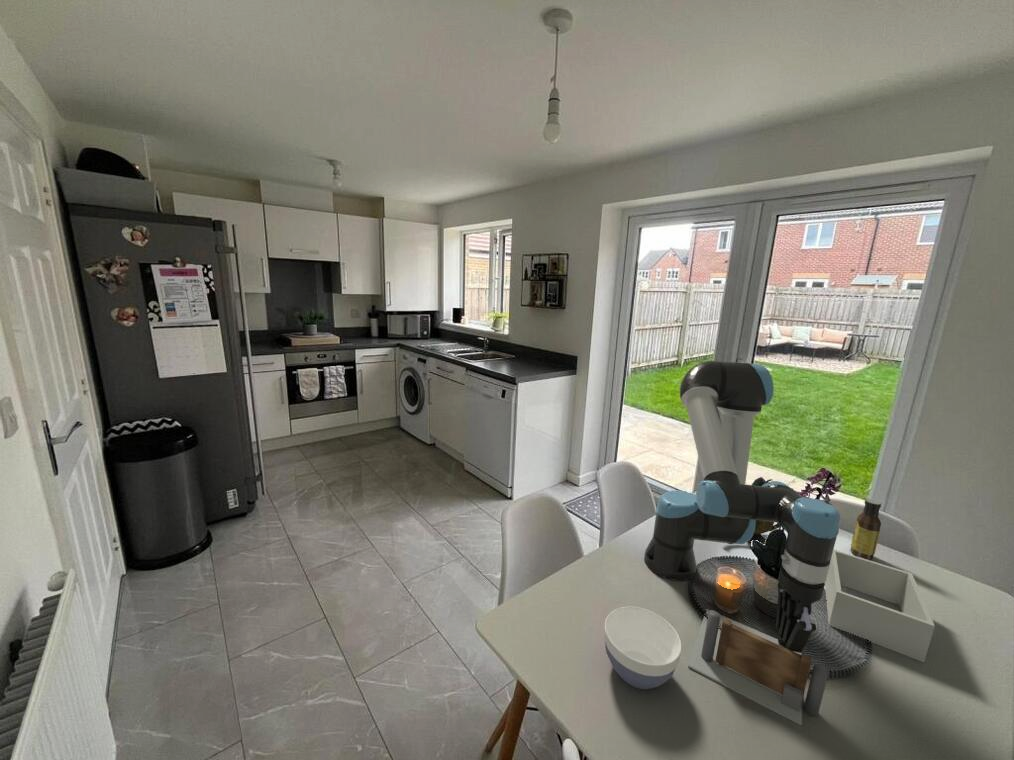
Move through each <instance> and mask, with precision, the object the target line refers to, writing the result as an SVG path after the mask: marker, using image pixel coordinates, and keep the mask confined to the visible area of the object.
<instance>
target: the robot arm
mask: <svg viewBox="0 0 1014 760" xmlns="http://www.w3.org/2000/svg"><path fill="white" fill-rule="evenodd" d="M774 391H775V390H774V380H773V377H772V374H771V372H770V371H769V370H768V368H767V367H765V366H764V365H762V364H756V363H749V362H730V361H729V362H728V361H718V360H717V361H716V360H707V361H702V362H699V363H697V364H695V365H694V366H693V367H691V368H689V370H688V371H687V372H686V374H685V375H684V376H683V378H682V380H681V383H680V387H679V397H680V401H681V404H682V406H683V407H684V408H685V409H687V415H688V419H689V423H690V427H691V432H692V436H693V440H694V445H695V450H696V453H697V457H698V461H699V466H700V469H701V474H702V478H703V480H701V481H700V482H698V484H697V486H696V493H693V492H688V491H685V490H676V489H675V490H669V491H666V492H664V493H662V494H661V495H660V496H659V498H658V501H657V504H656V508H655V519H654V528H653V533H652V537H651V540H650V541H649V543H648V545H647V547H646V548H645V551H644V558H643V560H644V563H645V564H646V566H647V567H648V568H649V570H651V571H652V572H653V573H655V574H657V575H658V576H660V577H663V578H665V579H668V580H672V581H689V580H691V579H693V578H694V577H695V576H694V575H696V573H697V562H696V555H695V551H694V542H695V540H696V541H706V542H712V543H713V542H715V543H722V544H728V545H744V544H746V543H748V541H749V540H750V539H751V538H752V536H753V534H754V530H755V524H756V521H755V520H761V521H770V522H774V523H776V524H777V523H778V524H779V525H780V526H781V527H780V528H782V529H783V530H784V531H785V532H786V533H787V535H786V536H787V537H786V541H785V547H784V553H783V554H781V556H780V558H781V560H782V561H781V566H780V570H779V574H778V577H777V582H778V583H777V607H776V616H775V617H776V619H775V628H776V630H778V633H777V635H778V638H777V639H778V645H780V646H782V647H784V648H787V649H789V650H791V651H793V652H798V653H801V652H802V653H803V650H804V648H805V646H806V644H807V642H808V640H809V639H810V636H811V635H812V633H814V632H816V631H817V625H816V624H815V623H813V622H812V621H811V619H810V615H811V614H812V604H814V603H815V602H819V601H820V600H821V599H822V598H823V595H824V594H823V593H824V589H825V581H826V578H827V574H828V570H829V566H830V560H831V557H832V553H833V549H834V548H835V545H836V541H837V538H838V535H839V533H840V532H839V530H840V528H839V526H840V519H841V514H840V512H839V511H838V509H837V508H836V507H834V506H833V505H832V504H828V503H826V501H823V500H821V499H816V498H813V497H803V496H801V494H799V493H798V492H797V491H796V490H795V489H794V488H793V487H790V486H789V485H787V484H786V483H784V482H782V481H779V480H778V481H777V480H772V481H769V482H768V483H765V484H763V485H762V486H752V484H751V485H750V484H746V482H747V474H748V468H749V467H748V465H749V459H750V451H751V443H752V435H753V430H754V429H753V428H754V421H755V417H756V416H757V415H758V414H761V413H762V407H763V406H766V405H769V404H770V403H771V400H772V399H773V397H774ZM834 550H835V549H834ZM693 576H694V577H693ZM692 577H693V578H692ZM690 578H691V579H690Z"/></svg>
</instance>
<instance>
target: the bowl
mask: <svg viewBox="0 0 1014 760" xmlns="http://www.w3.org/2000/svg"><path fill="white" fill-rule="evenodd" d="M603 635H604V644H605V645H604V647H605V652H606V655H607V658H608V660H609V661H610V664H611V666H612V668H613V669H614V670H615V672H616V673H617V674H618V675H619V676H620V678H621V679H622V680H623V681H624V682H625V683H626V684H628V685H629V686H632V687H634V688H636V689H640V690H650V689H655V688H657V687H660V686H662V685H663V684H666V682H667V681H669V680H670V679H671V678H672V677H673V675H674V673H675V670H676V668H677V667H678V664H679V662H680V658H681V653H682V647H683V646H682V642H681V638H680V636H679V633H678V632H677V631H676V629H675V628H674V627H673V625H672V624H670V622H668V621H667V619H665V618H664V617H662V616H660V615H659V614H658V613H656V612H653V611H651V610H649V609H645V608H642V607H638V606H622V607H618V608H616V609H613V610H611V612H610V613H609V614H608V615H607V617H606V618H605V621H604V634H603Z"/></svg>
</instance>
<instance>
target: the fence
mask: <svg viewBox="0 0 1014 760" xmlns="http://www.w3.org/2000/svg"><path fill="white" fill-rule="evenodd" d="M706 610H707V611H708V612H709V613H708V619H707V618H706V617H705V616H704V615H703V618H702V621H701V625H700V627H699V630H698V634H697V638H696V640H695V643H694V647H693V649H692V653H691V656H690V659H689V662H688V666H687V668H689V669H691V670H692V671H695V672H697V673H699V674H700V675H702V676H704V677H706V678H708V679H710V680H712V681H713V682H716V683H718V684H719V685H722V686H724V687H725V688H728V689H730V690H732V691H733V692H736V693H737V694H740V695H742V697H745V698H746V699H749V700H750V701H753V702H755V703H757V704H759V705H760V706H762V707H764V708H766V709H768V710H771V711H772V712H774V713H776V714H778V715H779V716H782V717H783V718H786V719H787V720H789V721H791V722H794V723H795V724H798V725H799V726H802V725H803V710H804V711H805V713H807V714H808V715H809V716H812V717H815V718H816V717H818V716H819V712H820V708H821V704H822V702H823V696H824V692H825V690H826V689H825V688H826V684H827V681H828V676H829V671H828V670H827V669H826V667H824V666H822V665H820V664H814V665H813V666H812V670H811V674H810V679H809V683H808V687H807V691H806V695H805V696H806V697H805V701H804V704H803V703H802V704H801V701H802V702H803V700H802V697H803V698H804V696H803V691H801V690H799V689H797V688H795V687H793V686H790V685H788V684H786V683H785V685H784V690H783V694H782V695H781V694H779V693H777V692H775V691H773V690H771V689H769V688H767V687H765V686H763V685H761V684H759V683H757V682H755V681H754V680H752V679H750V678H748V677H746V676H744V675H742V674H740V673H738V672H736V671H734V670H732V669H730V668H728V667H726V666H724V665H721V664H719V663H717V662H715V660H716V655H717V649H718V644H719V638H720V633H721V630H720V629H718V628H719V623H721V625H722V622H723V619H724V618H725V619H728V620H730V621H732V623H731V624H734V625H736V626H738V627H740V628H742V629H745V630H747V631H749V632H751V633H753V634H756V635H758V636H760V637H762V638H765V639H767V640H769V641H771V642H773V643H776V644H778V639H779V638H775V637H773V636H771V635H768V634H766V633H764V632H761V631H760V630H757V629H754V628H752V627H749V626H748V625H745V624H743V623H741V622H738V621H736V620H733V619H731V618H729V617H727V616H724V615H723V614H720V613H719V612H718V611H716V610H711V609H708V608H706V609H705V611H706ZM795 653H798V652H795ZM802 653H803V651H802V652H801V653H798V654H800V655H801V654H802Z"/></svg>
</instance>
